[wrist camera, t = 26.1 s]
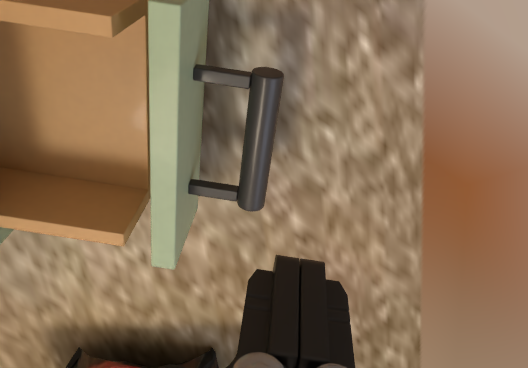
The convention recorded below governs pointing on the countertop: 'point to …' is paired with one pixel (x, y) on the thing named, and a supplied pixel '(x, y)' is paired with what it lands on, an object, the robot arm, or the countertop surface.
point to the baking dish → (83, 364)
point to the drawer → (117, 120)
